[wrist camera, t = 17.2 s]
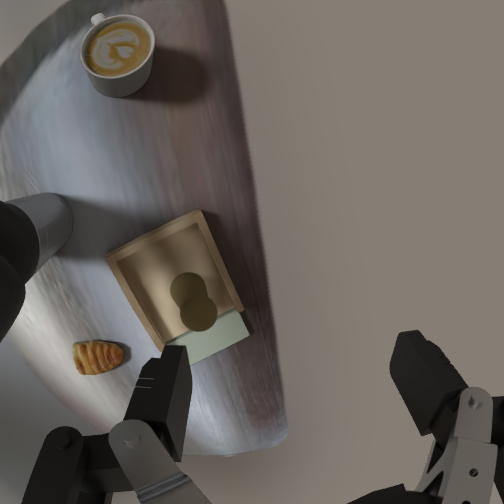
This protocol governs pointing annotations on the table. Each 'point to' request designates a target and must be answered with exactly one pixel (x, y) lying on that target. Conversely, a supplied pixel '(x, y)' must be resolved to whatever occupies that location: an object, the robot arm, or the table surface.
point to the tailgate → (212, 336)
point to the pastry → (96, 356)
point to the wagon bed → (171, 273)
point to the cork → (193, 302)
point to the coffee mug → (118, 54)
